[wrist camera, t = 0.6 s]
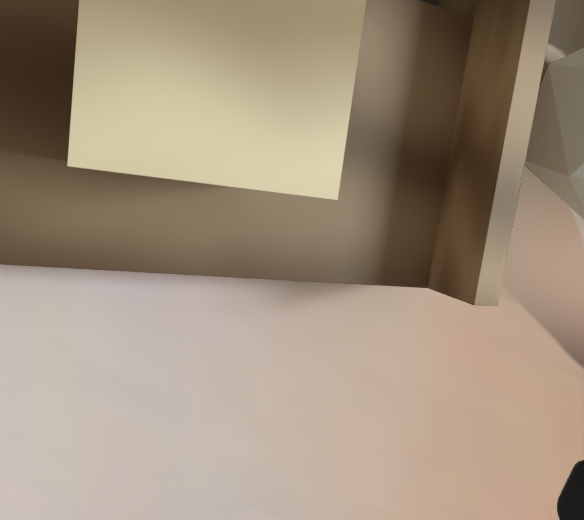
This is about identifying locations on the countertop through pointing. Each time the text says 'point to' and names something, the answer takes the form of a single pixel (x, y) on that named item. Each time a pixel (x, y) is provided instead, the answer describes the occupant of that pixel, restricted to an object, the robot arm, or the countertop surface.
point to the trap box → (287, 207)
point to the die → (560, 131)
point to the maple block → (217, 91)
